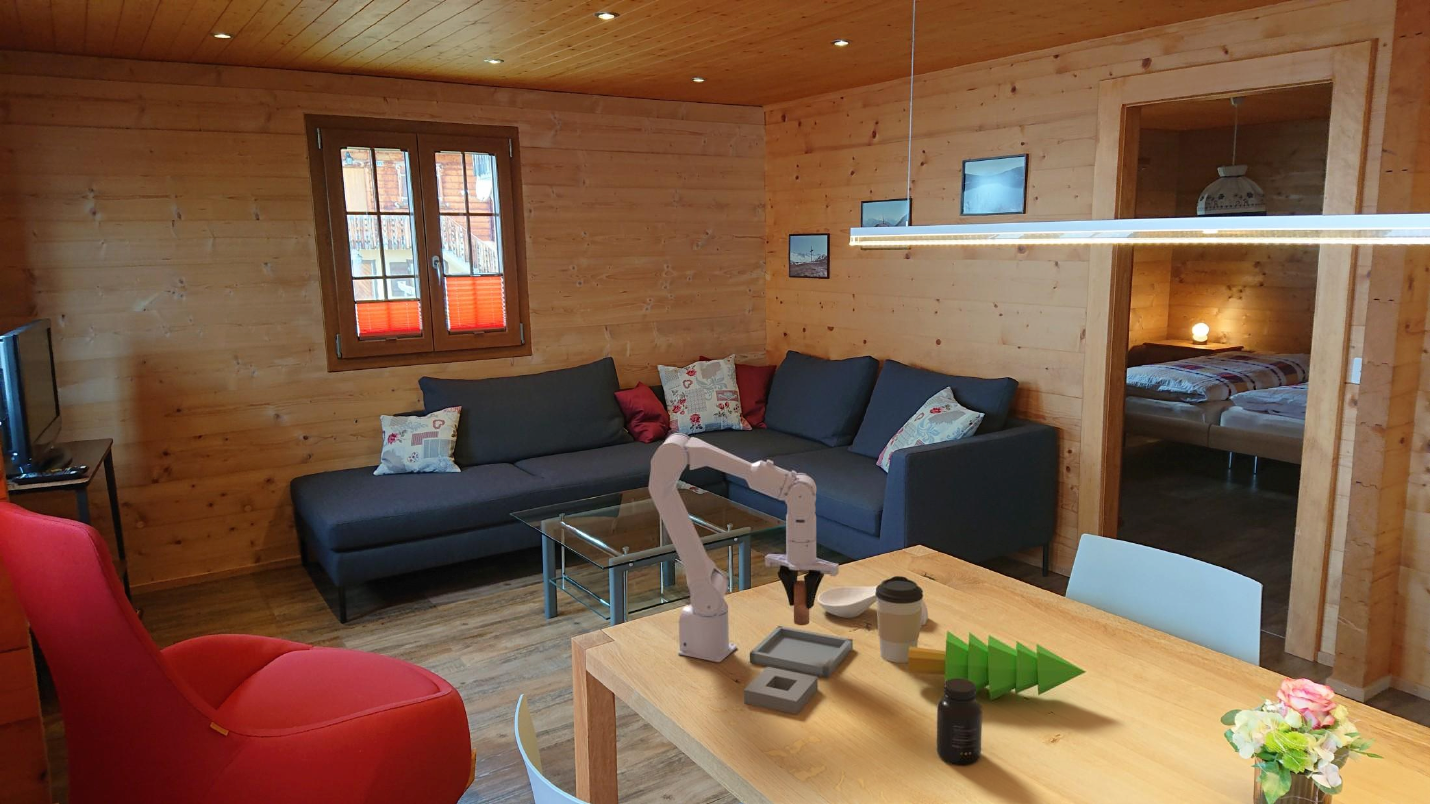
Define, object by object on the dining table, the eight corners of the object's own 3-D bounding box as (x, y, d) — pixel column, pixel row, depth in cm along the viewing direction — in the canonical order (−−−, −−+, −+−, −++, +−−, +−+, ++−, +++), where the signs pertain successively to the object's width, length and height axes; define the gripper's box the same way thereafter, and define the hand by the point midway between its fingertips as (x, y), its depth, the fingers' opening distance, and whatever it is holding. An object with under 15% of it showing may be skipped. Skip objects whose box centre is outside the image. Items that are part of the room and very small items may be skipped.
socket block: (744, 702, 168) (743, 689, 168) (767, 679, 177) (767, 666, 177) (796, 714, 164) (796, 701, 163) (817, 689, 173) (817, 676, 172)
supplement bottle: (930, 745, 153) (931, 675, 151) (971, 742, 154) (973, 673, 152) (944, 768, 147) (945, 696, 144) (987, 765, 147) (989, 693, 145)
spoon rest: (811, 619, 205) (811, 587, 203) (825, 599, 215) (825, 569, 214) (922, 633, 196) (923, 600, 195) (931, 612, 207) (931, 580, 206)
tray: (749, 662, 184) (749, 652, 184) (778, 634, 196) (778, 625, 196) (827, 678, 177) (827, 668, 177) (852, 648, 189) (852, 639, 189)
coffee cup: (922, 667, 181) (923, 592, 178) (873, 663, 182) (874, 589, 180) (921, 646, 189) (923, 575, 187) (875, 643, 191) (876, 572, 189)
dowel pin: (791, 623, 185) (791, 584, 183) (797, 618, 187) (796, 579, 186) (806, 626, 183) (805, 586, 182) (811, 620, 186) (811, 581, 185)
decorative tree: (910, 615, 174) (1085, 625, 166) (913, 659, 180) (1083, 671, 171) (904, 662, 165) (1089, 675, 156) (908, 707, 171) (1087, 722, 162)
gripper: (758, 539, 182) (758, 606, 185) (829, 549, 176) (829, 619, 178) (773, 529, 188) (773, 594, 191) (842, 538, 182) (842, 605, 184)
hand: (801, 605), depth 185 cm, fingers closed on dowel pin, 3 cm apart
